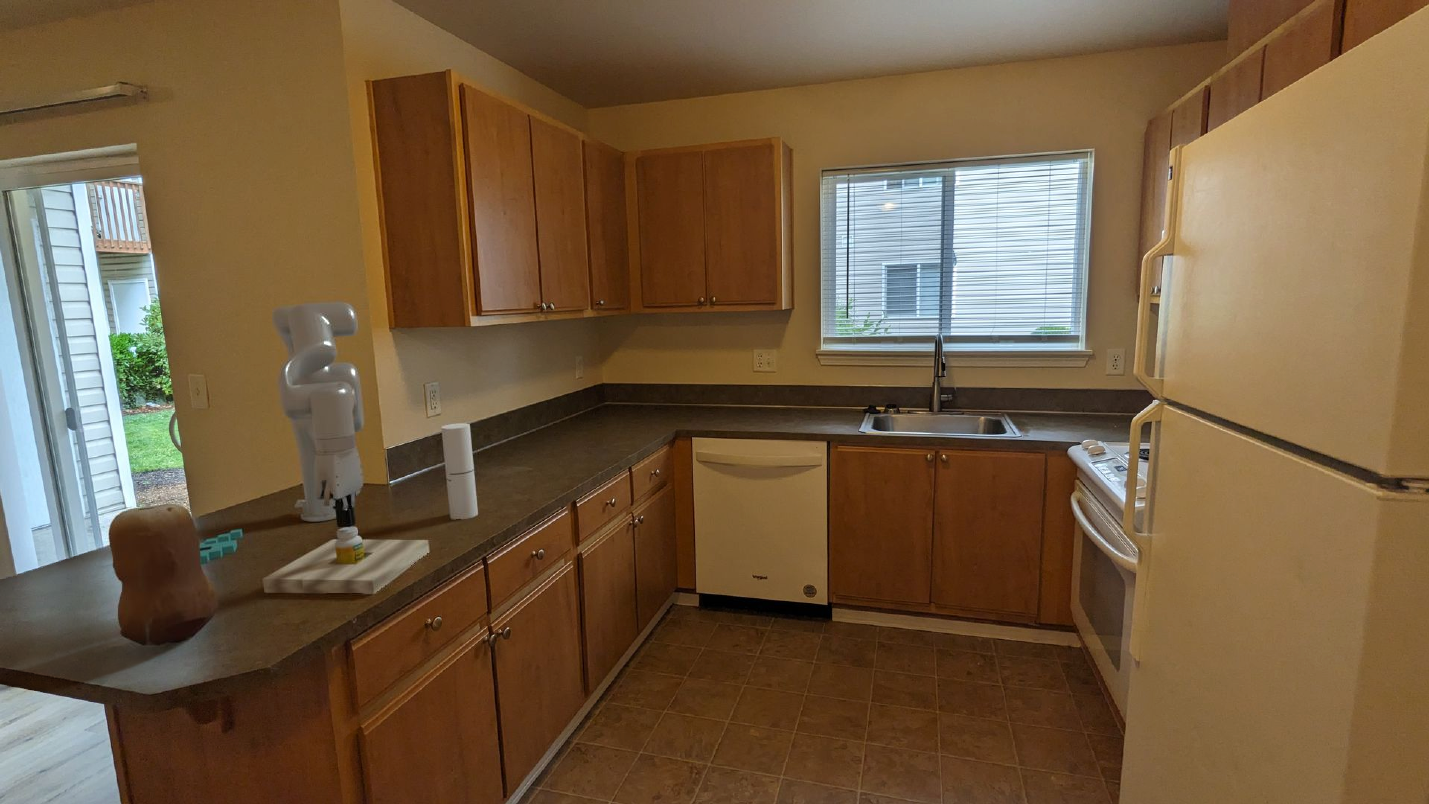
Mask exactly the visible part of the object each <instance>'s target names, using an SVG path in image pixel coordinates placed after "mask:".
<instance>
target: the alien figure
mask: <svg viewBox="0 0 1429 804" xmlns="http://www.w3.org/2000/svg"><path fill="white" fill-rule="evenodd" d="M243 536H244V535H243V530H242V528H239V529H233V530H230V532H229V533H223V534H219V535H217V537H213V538H207V539H205V541H204V542H199V543H200V555H201V557H200V562H201V565H203V564H208V563H209V562H210V560H214V559H220V558H222V557H223V555H228V554H233V553H235V552H236V549H237V548H238V544H237V539H238V540H239V539H242V537H243Z"/></svg>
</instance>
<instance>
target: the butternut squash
mask: <svg viewBox="0 0 1429 804" xmlns="http://www.w3.org/2000/svg"><path fill="white" fill-rule="evenodd" d="M195 525H196V524H195V522H194V519H193V517H192V514H191V512H190V511H189V510H188V509H187V508H186V507H185V506H182V505H180V504H177V503H164V504H158V505H154V506H153V505H151V506H147V507H146V506H145V507H134V508H130V509H127V510H123V511H121V512H120V513H119V514H117V515H115V517H114V518H113V519H112V521H111V523H110V525H109V528H108V541H109V547H110V550H111V556H112V568H113V570H114V572H115V576H116V578H117V579H118V581H120V582H121V593H120V596H119V601H118V604H117V620H118V621H117V622H118V625H119V626H118V627H119V628H120V630H119V633H120V636H122V637H123V638H125V639H127V640H129V641H132V642H135V644H138V645H140V646H162V645H163V646H164V645H165V644H166V645H167V644H176V643H178V642H179V643H183V642H184V641H186V640H188V639H190V638H193V637H194V636H196V634H198V633H199V632H200V631H201V630H202V629H203V628H205V626H206V625H207V624H208V623H209V622H210V621H211V619H213V618H214V616H215V615H216V613H217V611H218V609H219V602H218V593H217V590H216V589H215V586H214V584H212V582H211V581H210V579H209V578H208V576H207V575H206V574H205V573H204V570H203V567H202V564H201V562H200V557H201V555H200V543H201V542H200V538H199V534H198V531H197V529H196V526H195ZM182 641H183V642H182Z"/></svg>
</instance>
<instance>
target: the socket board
mask: <svg viewBox="0 0 1429 804" xmlns="http://www.w3.org/2000/svg"><path fill="white" fill-rule="evenodd" d="M338 539H339V538H337V539H335V538H334V539H330V540H329V541H327V542H325V543H323V544H322V545H320V546H318V547H316V548H314V549H313V550H311V551H309V552H308V553H306V554H304V555H302V556H300V557H299V558H297V559H295V560H293V561H292V562H290V563H288V564H286V565H285V566H283V567H280V568H279V569H277V570H276V571H273V572H272V573H271V574H269V575H267V576H265V577H264V578H262V584H263V590H264V593H267V594H269V593H270V594H273V593H275V594H283V593H284V594H326V593H363V594H362V595H375V594H377V593H378V592H380V590H382V589H383V588H384V587H386V586H387V585H388V584H390V583H391V582H392V581H393V580H395V579H396V578H398V577H399V576H400V575H402V574H403V573H404V572H406V570H408V569H409V568H410V567H412V566H413V565H415V564H416V563H418V562H419V561H420V560H421V559H422V558H424V557H425V556H427V555H428V554H429V553H430V543H429V540H428V539H362V541H363V549H364V557H365V559H363V560H362V561H360V562H359V563H357V564H338V563H337V556H336V549H335V542H336V541H337V540H338ZM427 553H428V554H427ZM423 556H424V557H423ZM419 559H420V560H419ZM418 560H419V561H418ZM415 562H416V563H415ZM414 563H415V564H414ZM411 565H412V566H411ZM385 585H386V586H385ZM381 588H382V589H381ZM377 591H378V592H377Z"/></svg>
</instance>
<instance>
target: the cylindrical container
mask: <svg viewBox="0 0 1429 804" xmlns="http://www.w3.org/2000/svg"><path fill="white" fill-rule="evenodd" d="M440 428H441V429H440V430H441V437H442V438H441V439H442V446H443V447H442V448H443V457H444V466H445V467H444V468H445V476H446V488H447V498H448V507H449V517H450V519H451V520H456V519H461V520H467V519H471V518H474V517H477V516H478V514H479V512H478V511H479V509H478V499H477V489H476V488H477V487H476V478H475V465H474V456H473V448H472V447H473V446H472V433H471V425H470V423H464V422H463V423H461V422H459V423H452V424H451V423H450V424H446V425H442V426H441V427H440Z"/></svg>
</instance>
